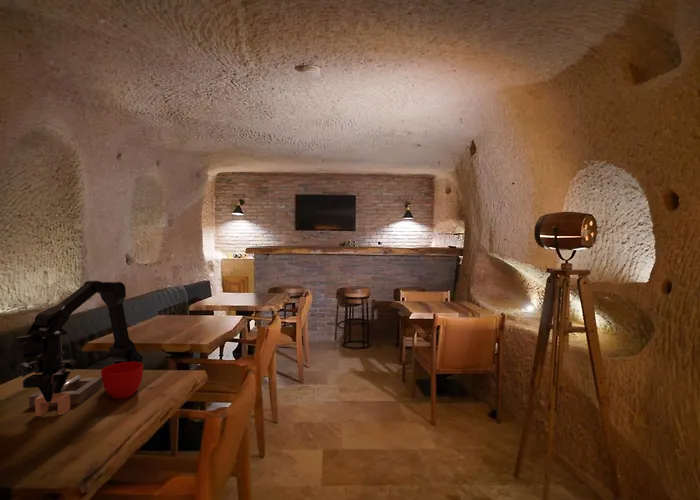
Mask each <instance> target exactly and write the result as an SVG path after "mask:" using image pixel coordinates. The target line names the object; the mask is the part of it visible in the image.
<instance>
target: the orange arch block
mask: <svg viewBox="0 0 700 500" xmlns="http://www.w3.org/2000/svg"><path fill="white" fill-rule="evenodd" d="M56 402H58V406H57V415H58V416H60V415H65V414H66V413H67V412H69V411H70V410H71V405H70V393H53V396H52V399H51V402H46V400H45V398H44V396H43V394H42V395H41V396H39V397H37V398H36V399H35V407H34V409H35V414H34V415H35V417H41V416H43V415H44V414H46V413H47V412H48V411H49V409H50V408H49V406H48V403H56Z"/></svg>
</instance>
